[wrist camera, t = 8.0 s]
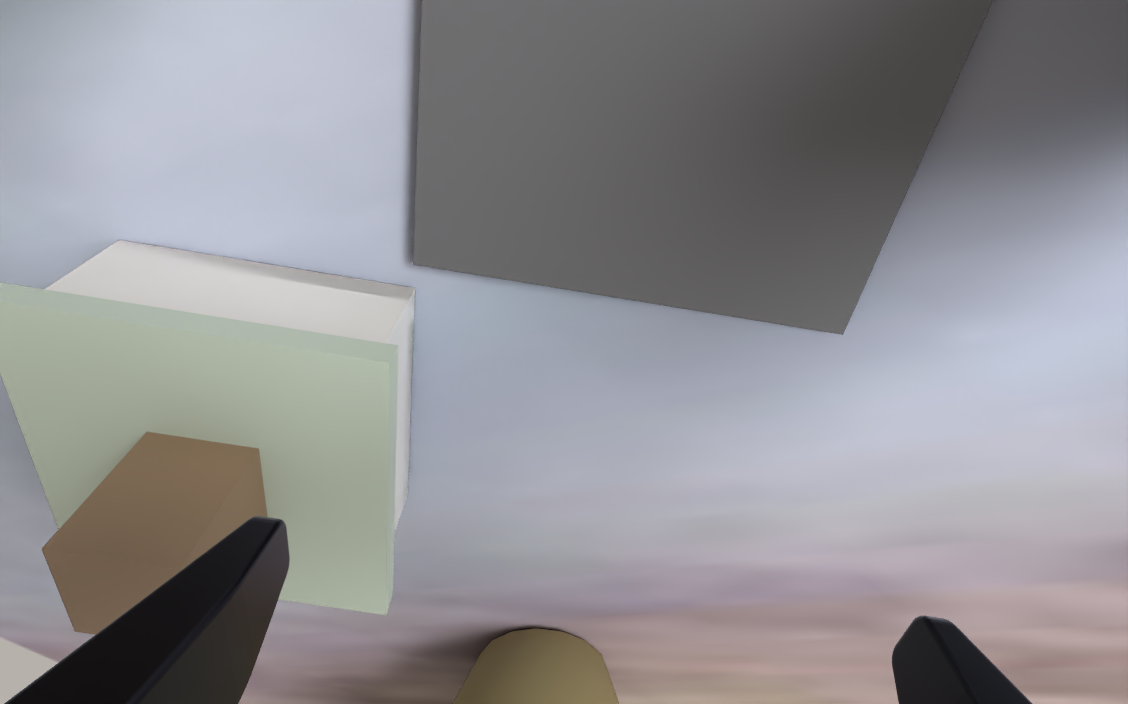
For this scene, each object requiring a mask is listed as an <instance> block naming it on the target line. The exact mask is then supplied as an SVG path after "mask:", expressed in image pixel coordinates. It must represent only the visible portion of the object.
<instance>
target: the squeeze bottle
mask: <svg viewBox="0 0 1128 704" xmlns="http://www.w3.org/2000/svg"><path fill="white" fill-rule="evenodd" d="M453 704H619V702H618V699H617V696H616V693H615V690H614V687H613V684H612V681H611V678H610V675H609V673H608V670H607V667H606V664H605V662H604V659H603V657H602V654H601V653H599V652H598V651H597V650H596V649H595V648H594V647H592V646H591V645H590V644H589V643H588V642H587V641H585V640H582V639H580V638H577V637H575V636H572V635H570V634H567V633H565V632H561V631H553V630H545V629H528V630H520V631H512V632H509V633H507V634H505V635H503V636H500V637H498V638H496V639H494V640H492V641H491V642H490V643H489V644H488V645H487V646H486V648H485V649H484V650H483V651H482V652H481V653H480V655H479V657H478V659H477V661H476V662H475V664H474V666H473V668H472V670H471V671H470V673H469V675H468V677H467V679H466V680H465V682H464V684H463V686H462V687H461V689H460V691H459V693H458V695H457V696H456V698H455V700H454V702H453Z"/></svg>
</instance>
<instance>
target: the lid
mask: <svg viewBox="0 0 1128 704" xmlns="http://www.w3.org/2000/svg"><path fill="white" fill-rule="evenodd" d="M0 375H1V378H2V380H3V383H4V386H5V388H6V391H7V394H8V396H9V399H10V402H11V404H12V407H13V410H14V412H15V415H16V418H17V420H18V423H19V426H20V428H21V431H22V434H23V436H24V439H25V442H26V444H27V447H28V450H29V452H30V455H31V458H32V460H33V463H34V466H35V468H36V471H37V474H38V476H39V479H40V482H41V484H42V487H43V490H44V492H45V495H46V498H47V500H48V503H49V506H50V508H51V511H52V514H53V516H54V519H55V522H56V524H57V527H58V531H57V532H56V533H55V534H54V535H53V537H52V538H51V539H50V540H49V541H48V542H47V543H46V544H45V546H44V547H43V548H42V551H43V554H44V556H45V559H46V561H47V564H48V566H49V569H50V571H51V574H52V576H53V578H54V581H55V583H56V586H57V588H58V591H59V593H60V596H61V598H62V601H63V603H64V606H65V608H66V611H67V613H68V616H69V618H70V621H71V623H72V626H73V628H74V630H75V631H76V632H83V633H90V634H97V633H99V632H100V631H101V630H103V629H104V628H105V627H107V626H108V625H109V624H111V623H112V622H113V621H115V620H116V619H117V618H119V617H120V616H121V615H122V614H124V613H125V612H126V611H128V610H129V609H130V608H132V607H133V606H134V605H136V604H137V603H138V602H140V601H141V600H142V599H144V598H145V597H146V596H148V595H149V594H150V593H152V592H153V591H154V590H156V589H157V588H158V587H160V586H161V585H162V584H164V583H165V582H166V581H168V580H169V579H170V578H172V577H173V576H174V575H176V574H177V573H178V572H179V571H181V570H182V569H183V568H185V567H186V566H187V565H189V564H190V563H191V562H193V561H194V560H195V559H197V558H198V557H199V556H201V555H202V554H203V553H205V552H206V551H207V550H209V549H210V548H211V547H213V546H214V545H215V544H217V543H218V542H219V541H221V540H222V539H223V538H225V537H226V536H227V535H229V534H230V533H231V532H232V531H234V530H235V529H236V528H238V527H239V526H240V525H242V524H243V523H244V522H246V521H247V520H249V519H250V518H252V517H255V516H264V517H271V518H277V519H281V520H283V521H284V522H285V524H286V527H287V537H288V546H289V555H290V562H289V569H288V573H287V576H286V579H285V582H284V584H283V587H282V590H281V593H280V596H279V598H278V600H284V601H291V602H298V603H305V604H311V605H318V606H325V607H332V608H339V609H346V610H353V611H360V612H367V613H374V614H381V615H387V612H388V609H389V606H390V602H391V599H392V596H393V572H394V524H395V475H396V427H397V379H398V345H393V344H387V343H380V342H374V341H368V340H361V339H355V338H349V337H342V336H336V335H330V334H324V333H317V332H311V331H305V330H298V329H292V328H286V327H279V326H273V325H267V324H260V323H254V322H248V321H241V320H235V319H229V318H222V317H216V316H210V315H203V314H197V313H191V312H184V311H178V310H172V309H165V308H159V307H153V306H146V305H140V304H134V303H127V302H121V301H115V300H109V299H102V298H96V297H90V296H83V295H77V294H71V293H64V292H58V291H52V290H45V289H39V288H33V287H26V286H20V285H14V284H7V283H1V282H0Z"/></svg>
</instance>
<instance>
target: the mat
mask: <svg viewBox="0 0 1128 704" xmlns="http://www.w3.org/2000/svg"><path fill="white" fill-rule="evenodd" d="M991 3H992V0H422V9H421V39H420V69H419V99H418V129H417V158H416V188H415V218H414V248H413V264H414V265H420V266H426V267H432V268H438V269H444V270H450V271H457V272H463V273H469V274H475V275H481V276H487V277H493V278H499V279H506V280H512V281H518V282H524V283H530V284H536V285H542V286H548V287H555V288H561V289H567V290H573V291H579V292H585V293H591V294H597V295H604V296H610V297H616V298H622V299H628V300H634V301H640V302H646V303H653V304H659V305H665V306H671V307H677V308H683V309H689V310H695V311H702V312H708V313H714V314H720V315H726V316H732V317H738V318H744V319H751V320H757V321H763V322H769V323H775V324H781V325H787V326H793V327H800V328H806V329H812V330H818V331H824V332H830V333H836V334H842V335H843V333H844V331H845V329H846V327H847V324H848V322H849V320H850V318H851V316H852V313H853V311H854V309H855V307H856V304H857V302H858V300H859V298H860V295H861V293H862V291H863V289H864V286H865V284H866V282H867V280H868V278H869V275H870V273H871V271H872V269H873V266H874V264H875V262H876V260H877V257H878V255H879V253H880V251H881V248H882V246H883V244H884V242H885V240H886V237H887V235H888V233H889V231H890V228H891V226H892V224H893V222H894V219H895V217H896V215H897V213H898V210H899V208H900V206H901V204H902V202H903V199H904V197H905V195H906V193H907V190H908V188H909V186H910V184H911V181H912V179H913V177H914V175H915V172H916V170H917V168H918V166H919V164H920V161H921V159H922V157H923V155H924V152H925V150H926V148H927V146H928V143H929V141H930V139H931V137H932V134H933V132H934V130H935V128H936V126H937V123H938V121H939V119H940V117H941V114H942V112H943V110H944V108H945V105H946V103H947V101H948V99H949V97H950V94H951V92H952V90H953V88H954V85H955V83H956V81H957V79H958V76H959V74H960V72H961V70H962V67H963V65H964V63H965V61H966V59H967V56H968V54H969V52H970V50H971V47H972V45H973V43H974V41H975V38H976V36H977V34H978V32H979V29H980V27H981V25H982V23H983V21H984V18H985V16H986V14H987V12H988V9H989V7H990V5H991Z"/></svg>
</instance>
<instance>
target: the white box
mask: <svg viewBox="0 0 1128 704" xmlns="http://www.w3.org/2000/svg"><path fill="white" fill-rule="evenodd" d="M45 290H52V291H58V292H64V293H71V294H77V295H83V296H90V297H96V298H102V299H109V300H115V301H121V302H127V303H134V304H140V305H146V306H153V307H159V308H165V309H172V310H178V311H184V312H191V313H197V314H203V315H210V316H216V317H222V318H229V319H235V320H241V321H248V322H254V323H260V324H267V325H273V326H279V327H286V328H292V329H298V330H305V331H311V332H317V333H324V334H330V335H336V336H342V337H349V338H355V339H361V340H368V341H374V342H380V343H387V344H393V345H398V379H397V427H396V475H395V524H394V534H395V531H396V528H397V525H398V522H399V519H400V517H401V514H402V511H403V508H404V505H405V502H406V499H407V496H408V472H409V444H410V416H411V389H412V361H413V334H414V306H415V288H413V287H406V286H400V285H394V284H388V283H382V282H375V281H369V280H363V279H357V278H351V277H345V276H338V275H332V274H326V273H320V272H314V271H308V270H301V269H295V268H289V267H283V266H277V265H271V264H264V263H258V262H252V261H246V260H240V259H234V258H227V257H221V256H215V255H209V254H203V253H197V252H190V251H184V250H178V249H172V248H166V247H160V246H153V245H147V244H141V243H135V242H129V241H123V240H118V241H117V242H115V243H114V244H112V245H111V246H109V247H108V248H106V249H105V250H103V251H102V252H100V253H99V254H97V255H95V256H94V257H92V258H91V259H89V260H88V261H86V262H85V263H83V264H82V265H80V266H79V267H77V268H76V269H74V270H73V271H71V272H70V273H68V274H67V275H65V276H64V277H62V278H61V279H59V280H58V281H56V282H55V283H53V284H52V285H50V286H49V287H47V288H46V289H45Z"/></svg>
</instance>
